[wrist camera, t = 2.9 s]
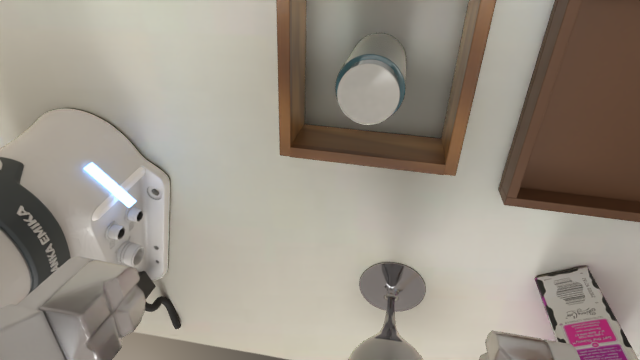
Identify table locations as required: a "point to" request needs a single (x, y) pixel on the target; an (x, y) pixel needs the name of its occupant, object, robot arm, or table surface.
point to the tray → (581, 115)
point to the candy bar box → (583, 315)
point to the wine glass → (389, 310)
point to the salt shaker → (372, 80)
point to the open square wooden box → (370, 144)
